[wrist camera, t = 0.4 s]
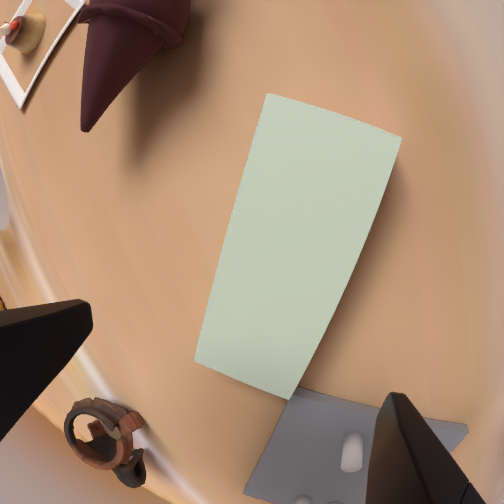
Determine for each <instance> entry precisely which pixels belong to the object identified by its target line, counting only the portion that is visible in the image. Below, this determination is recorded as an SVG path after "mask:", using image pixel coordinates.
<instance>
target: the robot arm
mask: <svg viewBox="0 0 504 504" xmlns="http://www.w3.org/2000/svg"><path fill="white" fill-rule="evenodd" d="M92 329H93V319H92V311H91V306H90V304H89V303H88V302H86V301H84V300H81V299H75V300H68V301H62V302H55V303H49V304H42V305H36V306H29V307H22V308H15V309H8V310H2V311H0V442H1V441H2V439H3V438H4V437H5V436H6V434H7V433H8V432H9V431H10V429H11V428H12V427H13V426H14V425H15V423H16V422H17V421H18V420H19V419H20V417H21V416H22V415H23V414H24V412H25V411H26V410H27V409H28V408H29V407H30V406H31V405H32V403H33V402H34V401H35V400H36V399H37V398H38V396H39V395H40V394H41V393H42V392H43V391H44V390H45V388H46V387H47V386H48V385H49V384H50V383H51V382H52V380H53V379H54V378H55V377H56V376H57V375H58V374H59V373H60V372H61V370H62V369H63V368H64V367H65V366H66V365H67V364H68V362H69V361H70V360H71V358H72V357H73V356H74V354H75V353H76V352H77V350H78V349H79V348H80V346H81V345H82V344H83V342H84V341H85V340H86V338H87V337H88V336H89V334H90V333H91V331H92ZM468 482H469V480H468V478H467V477H466V475H465V474H464V473H463V471H462V470H461V468H460V467H459V466H458V464H457V463H456V462H455V460H454V459H453V457H452V456H451V455H450V453H449V452H448V451H447V449H446V448H445V447H444V445H443V444H442V442H441V441H440V440H439V438H438V437H437V436H436V434H435V433H434V432H433V430H432V429H431V428H430V426H429V425H428V424H427V422H426V421H425V420H424V418H423V417H422V416H421V414H420V413H419V412H418V410H417V409H416V408H415V406H414V405H413V404H412V403H411V401H410V400H409V399H408V397H407V396H406V395H405V394H403V393H397V392H390V393H389V394H388V396H387V397H386V399H385V401H384V403H383V405H382V407H381V409H380V411H379V413H378V415H377V418H376V423H375V430H374V437H373V443H372V449H371V455H370V461H369V467H368V477H367V490H366V502H365V504H486V503H485V501H484V500H483V499H482V497H481V496H480V495H479V493H478V492H477V491H476V489H475V488H474V486H473V485H472V484H471V482H469V483H468Z"/></svg>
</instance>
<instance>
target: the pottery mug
mask: <svg viewBox="0 0 504 504" xmlns="http://www.w3.org/2000/svg"><path fill="white" fill-rule="evenodd" d="M80 414H87V415H91V416H94V417H96V418H97V419H99V420H101V421H102V422H103V423H104V424H105V425H106V426H107V427H108V428H109V429H110V430H111V431H113V429H114V428H115V427H116V426H117V427H118V429H119V431H120V433H121V438H120V439H118V440H116V439H114V438H112V437H110V436H109V435H108V434H107V433H106V431H105V430H104V428H103V427H102V426H101V424H100V422H99V420H96V421H94V422H92V423H89V424H88V425H87V426H88V429H89V430H90V432H91V435H92V438H93V440H92V441H89V442H86V443H85V442H83V441H82V440H80V439H76V437H75V435H74V431H73V429H74V426H73V422H74V419H75V418H76V417H77V416H78V415H80ZM143 424H144V423H143V421H142V419H141V417H140V415H139V413H138V412H133V411H132V412H129V413H128V411H127V410H126V409H125V408H123V407H121V406H119V405H116V404H114V403H111V402H109V401H107V400H104V399H100V398H97V397H96V398H94V400H92V399H91V398H86V399H83V400H81V401H76V402H74V405H73V406H72V410H71V411H70V412H69V413H68V414H67V417H66V419H65V422H64V432H65V436H66V439H67V441H68V443H69V445H70V446H71V448H72V449H73V451H74V452H75V453H76V455H77V456H78V457H79V458H80V459H81V460H83V461H84V462H85V463H86V464H88V465H90V466H92V467H94V468H97V469H102V470H110V469H112V470H113V471H114V473H115V474H116V475H117V477H118V479H119V480H120V481H121V482H122V483H123V484H125V485H126V486H128V487H131V488H137V487H140V486H141V485H142V484H145V480H146V470H145V465H144V463H143V460H142V456H143V451H144V450H143V449H142V448H140V449H135V450H133V451H132V447H133V437H132V432H133V431H135V430H136V429H138V428H142V426H143Z"/></svg>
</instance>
